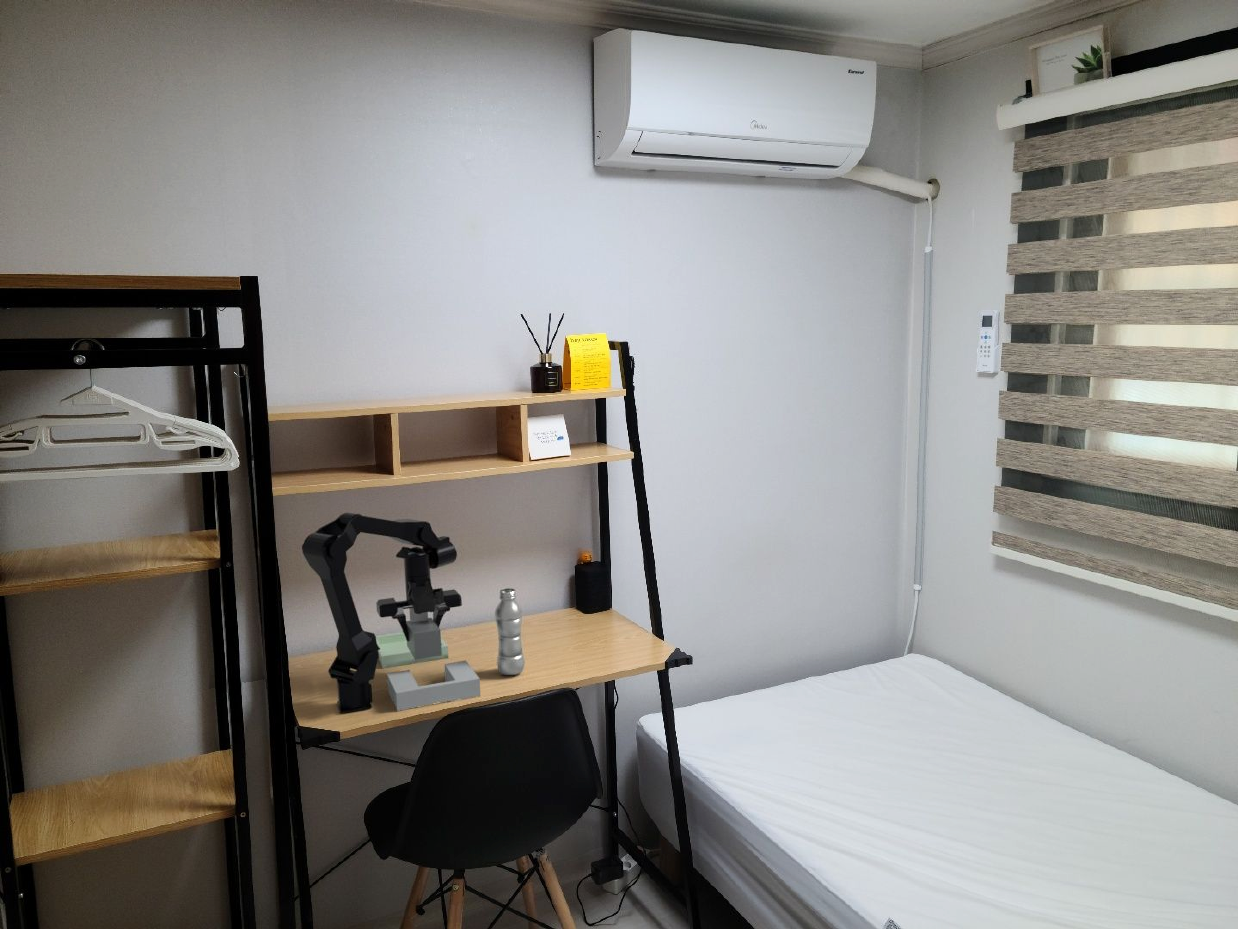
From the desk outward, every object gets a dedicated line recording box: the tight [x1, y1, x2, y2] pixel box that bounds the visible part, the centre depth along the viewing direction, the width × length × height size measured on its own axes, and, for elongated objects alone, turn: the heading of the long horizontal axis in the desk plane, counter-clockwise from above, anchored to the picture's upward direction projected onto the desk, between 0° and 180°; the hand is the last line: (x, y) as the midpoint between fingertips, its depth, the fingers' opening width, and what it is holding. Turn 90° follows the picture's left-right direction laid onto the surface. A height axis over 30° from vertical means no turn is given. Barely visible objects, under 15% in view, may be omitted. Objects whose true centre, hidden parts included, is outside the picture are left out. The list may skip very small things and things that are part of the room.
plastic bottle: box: [494, 587, 526, 676], centre depth 209 cm, size 6×7×20 cm
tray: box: [375, 631, 450, 669], centre depth 225 cm, size 16×16×3 cm
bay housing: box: [386, 659, 481, 712], centre depth 199 cm, size 18×12×4 cm
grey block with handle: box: [406, 608, 442, 660], centre depth 206 cm, size 6×10×10 cm, turn 23°
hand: (421, 638), depth 209 cm, fingers closed on grey block with handle, 6 cm apart
